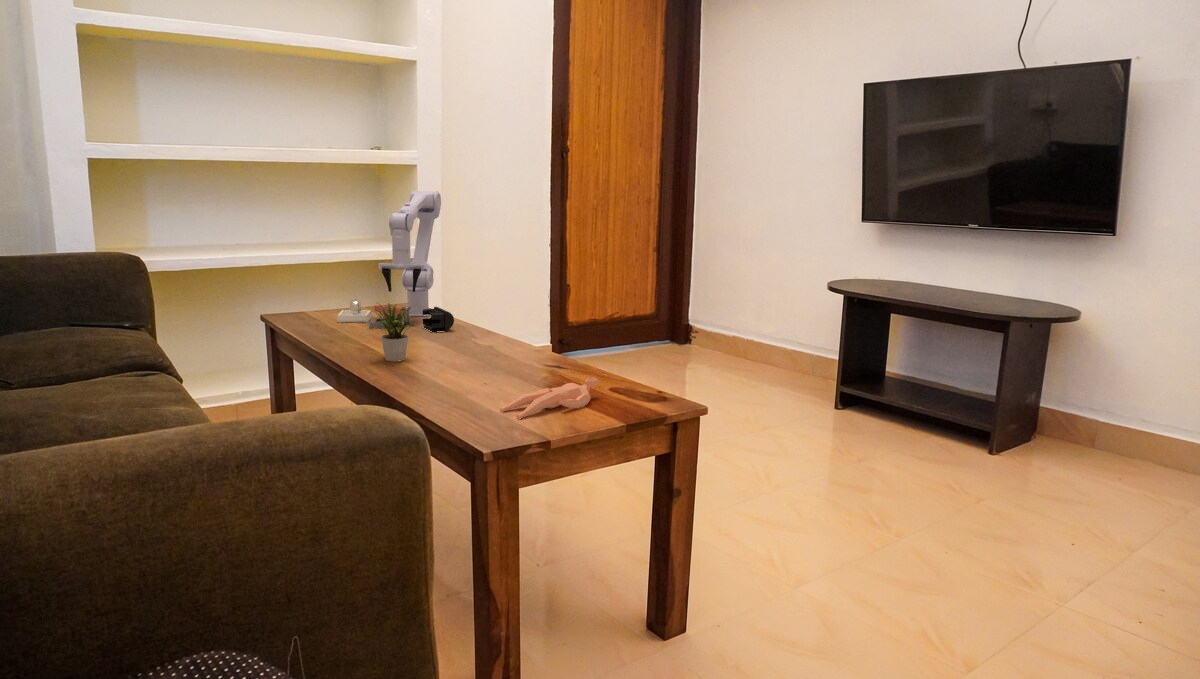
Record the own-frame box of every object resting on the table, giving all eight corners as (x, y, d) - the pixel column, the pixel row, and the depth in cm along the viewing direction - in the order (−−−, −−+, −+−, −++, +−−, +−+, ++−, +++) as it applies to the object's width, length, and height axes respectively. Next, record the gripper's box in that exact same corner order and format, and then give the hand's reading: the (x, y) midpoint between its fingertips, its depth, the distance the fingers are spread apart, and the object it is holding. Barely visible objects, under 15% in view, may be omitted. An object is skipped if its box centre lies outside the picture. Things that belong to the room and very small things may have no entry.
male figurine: (493, 395, 170) (580, 370, 186) (495, 417, 171) (581, 390, 187) (523, 407, 162) (612, 379, 178) (525, 430, 164) (612, 400, 180)
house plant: (351, 360, 209) (349, 299, 206) (388, 350, 221) (386, 293, 218) (392, 367, 203) (391, 305, 199) (427, 357, 215) (427, 298, 211)
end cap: (454, 331, 250) (454, 310, 249) (433, 333, 246) (432, 312, 245) (443, 326, 258) (442, 305, 257) (422, 327, 255) (421, 307, 253)
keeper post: (401, 323, 260) (400, 306, 259) (413, 323, 261) (413, 306, 260) (400, 325, 257) (399, 308, 255) (412, 325, 257) (412, 308, 256)
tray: (342, 317, 267) (342, 310, 266) (371, 317, 268) (370, 310, 268) (337, 322, 257) (337, 315, 257) (367, 322, 259) (367, 315, 258)
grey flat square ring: (372, 323, 258) (372, 318, 258) (397, 323, 259) (397, 318, 259) (369, 328, 250) (369, 322, 250) (395, 328, 252) (395, 322, 251)
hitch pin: (349, 318, 262) (349, 297, 261) (361, 317, 264) (360, 297, 262) (350, 320, 259) (349, 298, 258) (361, 319, 260) (361, 298, 259)
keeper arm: (406, 314, 260) (406, 308, 260) (400, 315, 258) (400, 309, 257) (379, 310, 266) (379, 304, 266) (372, 311, 264) (372, 305, 263)
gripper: (376, 250, 251) (377, 293, 254) (423, 251, 254) (423, 293, 256) (379, 248, 258) (380, 289, 261) (424, 249, 260) (425, 290, 263)
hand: (402, 291), depth 259 cm, fingers open, 7 cm apart
